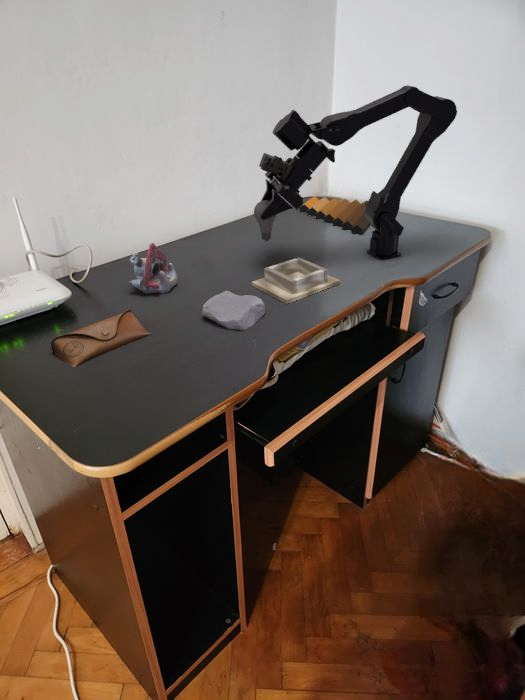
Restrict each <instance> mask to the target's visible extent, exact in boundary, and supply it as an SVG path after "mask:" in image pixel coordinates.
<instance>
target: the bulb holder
mask: <svg viewBox="0 0 525 700" xmlns="http://www.w3.org/2000/svg"><path fill="white" fill-rule="evenodd" d="M263 270H264V277H262V278H258V279H257V280H254V281H253V280H252V281H251V285H252V287H254V288H256V289H258V290H259V291H261V292H263V293H265V294H266V295H268V296H270V297H272V298H273V299H276V300H277V299H278V301H279V300H280V301H279V302H281V303H283V304H285V305H289V304H291V303H293V302H297V301H299V300H302V299H304V298H307V297H310V296H312V294H313V295H315V293H316V294H318V293H321V292H323V291H322V290H324V291H325V289H326V290H328V289H327V288H329V289H331V288H330V287H332V288H334V287H336V286H335V285H337V286H339V285H338V284H340V285H341V279H338V278H336V277H333V276H331V275H329V274H328V272H329V270H328V269H327V268H325V267H322V266H321V265H318V264H316V263H313V262H310V261H308V260H306V259H304V258H301V257H295V258H293V259H290V260H286V261H283V262H279V263H277V264H273V265H270V266H267V267H265V268H263ZM333 286H334V287H333ZM320 291H321V292H320ZM317 292H318V293H317ZM309 295H310V296H309ZM296 300H297V301H296ZM288 303H289V304H288Z"/></svg>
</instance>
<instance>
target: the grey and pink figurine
mask: <svg viewBox="0 0 525 700" xmlns="http://www.w3.org/2000/svg"><path fill="white" fill-rule="evenodd" d="M130 255H131V256H130V258H129V262H130V263H131V264H133V272H134V275H135V277H136V279H131V280H129V281H128V283H129V284H130V285H132V286H133V287H135V288H136V289H138V290H139V291H141V292H142V293H143V294H150V295H151V294H166V293H169V292H170V291H171V289H173V288H174V287H175V286H176V284H177V283H178V280H179V277H178V274H177V272H176V268H175V266H174V265H173V263H171V262H169V263H168V264H167V257H166V256H165V254H164V253H163V252H162V251H161V250H160V249H159V247H157V245H156V244H155V243H153V242H150V244H149V246H148V251H147V252H146V257H141V255H140V254H139V253H138V252H135V253H132V252H131V253H130ZM156 259H159V261H157V260H156ZM167 266H168V267H167Z"/></svg>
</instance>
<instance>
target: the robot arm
mask: <svg viewBox="0 0 525 700" xmlns="http://www.w3.org/2000/svg"><path fill="white" fill-rule="evenodd" d="M407 108H411V109H412V110H413V111H416V112H418V113H419V114H418V116H417V118H416V119H417V120H416V121H417V122H416V127H415V131H414V132H415V133H414V134H413V136H412V138H411V140H410V141H409V143H408V145H407V146H406V148H405V150H404V152H403V154H402V156H401V157H400V159H399V161H398V163H397V165H396V166H395V168H394V169H393V172H392V174H391V175H390V177H389V179H388V181H387V183H386V184H385V186H384V187H383V188H382V189H381V190H380V191H379V192H378V193H377V192H376V191H375V190H373V191H372V192H371V194H370V196H369V199H368V200H367V201H368V202H367V203H366V204H365V206H366V209H365V217H366V219H367V220H368V221H369V222H370V225H371V227H372V228H374V230H372V232H371V237H370V239H369V241H370V243H369V249H368V250H366V251H367V253H368V254H370V255H371V256H373V257H375V258H377V259H378V260H380V261H381V260H386V259H391V258H395V257H400V256H402V253H401V252H400V251H399V239H400V236H401V235H402V233H403V231H404V226H403V225H402V224H401V223H400V222H399V221H398V220H397V219H396V218H397V216H398V214H399V211H400V206H401V199H402V196H403V195H404V193H405V191H406V189H407V188H408V186H409V184H410V183H411V181H412V179H413V177H414V175H415V174H416V172H417V170H418V168H419V167H420V165H421V164H422V162H423V160H424V158H425V157H426V155H427V152H428V151H429V150H430V148H431V146H432V144H433V143H434V141H436V140H437V139H438V138H440V136H441V135H443V134H444V133H445V132H446V131H447V130H448V128H449V127H450V126H451V125H452V123H453V122H454V121H455V119H456V117H457V115H458V110H457V105H456V103H455V102H454V101H453V100H452V99H450V98H446V97H442V96H438V95H437V96H436V95H435V96H434V95H431V94H428V93H426V92H424V91H423V90H420V89H419V88H418V87H416V86H412V85H408V84H407V85H403V86H402V87H400V88H398V89H397V90H396V91H393V92H391V93H389V94H386V95H384V96H382V97H379V98H377V99H375V100H373V101H371V102H369V103H367V104H364V105H363V106H360V107H358V108H356V109H353V110H348V111H343V112H336V113H333V114H329V115H326V116H325V117H323V118H322V119H321V120H320V121H319V122H314V123H309V124H308V123H307V122H306V121H305V120H304V119H303V118H302V117H301V115H300V114H299V112H297V111H296V110H295V109H292V110H291V111H290V112H289V113H288V114H286V115H285V116H284V117H283V118H281V119H280V120H279V121H278V122H277V123H276V125H275V126H274V128H273V130H272V134H273V136H275V137H276V138H277V139H278V140H279V142H281V143H282V144H283V145H284V146H285V147H286V148H287V149H288V150H289V151H294V150H296V151H298V152H296V154H295V155H294V156H293V157H287V159H285V160H283V158H282V157H279V156H278V155H276V154H275V155H271V154H269V153H266V152H264V153H263V154H262V157H261V158H260V159H261V160H260V163H259V165H258V167H260V169H261V170H262V171H264V172H266V173H265V174H264V175H265V177H266V178H265V187H266V189H265V192H264V194H263V196H262V198H261V199H260V201H263V200H268V201H270V202H269V204H268V206H267V207H266V209H265V210H264V212H263V213H262V215H261V219H262V220H265V219H268V218H270V217H272V216H274V215H276V214H277V215H278V214H280V213H283V212H285V211H289V210H293V209H295V210H296V211H299V210H300V209H299V208H300V207H301V206H302V205H303V204H304V198H303V196H301V194H300V192H301V191H300V188H301V187H302V186H303V185H305V183H306V181H309V182H310V181H311V180H312V178H313V177H312V175H313V174H314V172H315V171H316V170H317V169H318V168H319V167H320V165H322V163H323V162H324V161H325V160H326V159H328V161H330V162H331V163H335V162H336V157H335V155H336V154H335V153H336V149H334V148H328V146H327V145H325V144H324V142H325V143H327V144H328V145H331V146H334V147H338V146H341V145H343V144H345V143H346V142H347V141H349V140H350V139H352V138H353V137H354V136H356V134H358V132H360V131H361V130H363V129H364V128H366V127H368V126H370V125H372V124H375V123H377V122H378V121H382V120H383V119H386V118H388V117H389V116H390V117H391V116H392V115H395V114H396V113H399V112H400V111H403V110H405V109H407ZM310 135H312V136H313V137H315V138H316V139H318V141H315V140H314V139H313V138H312V137H311V136H310ZM319 140H320V141H319ZM322 140H323V141H324V142H323V141H322ZM268 179H269V180H268ZM277 215H276V216H277Z"/></svg>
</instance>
